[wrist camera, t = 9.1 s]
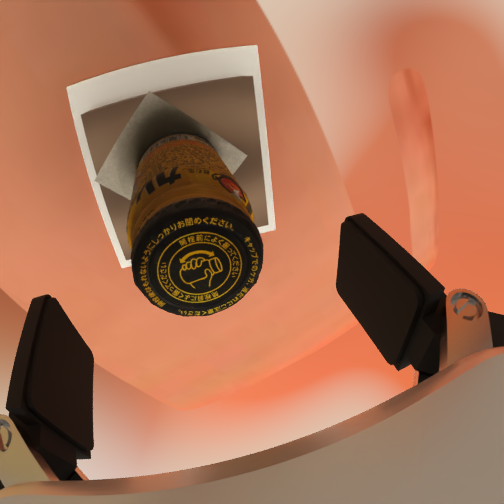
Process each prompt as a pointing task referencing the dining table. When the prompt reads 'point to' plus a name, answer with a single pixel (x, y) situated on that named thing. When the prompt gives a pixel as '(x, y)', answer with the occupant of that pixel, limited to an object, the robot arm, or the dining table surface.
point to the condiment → (183, 211)
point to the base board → (160, 78)
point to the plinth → (203, 111)
